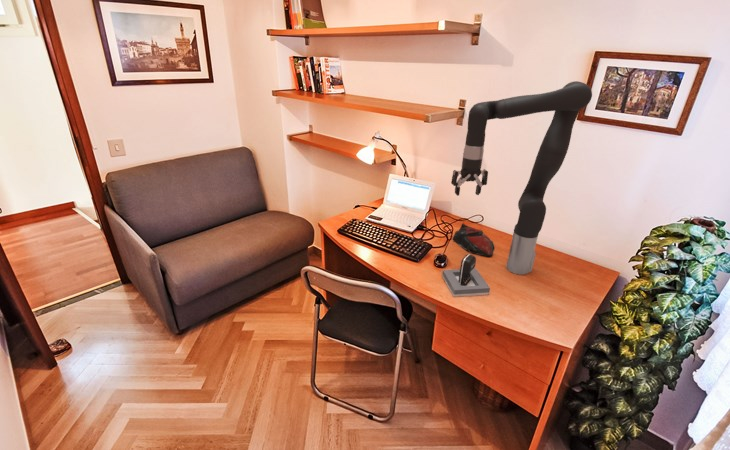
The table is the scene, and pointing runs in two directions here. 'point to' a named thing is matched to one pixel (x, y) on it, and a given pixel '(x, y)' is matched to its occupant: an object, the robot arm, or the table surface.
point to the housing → (472, 288)
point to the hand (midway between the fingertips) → (467, 194)
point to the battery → (466, 269)
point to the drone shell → (474, 240)
